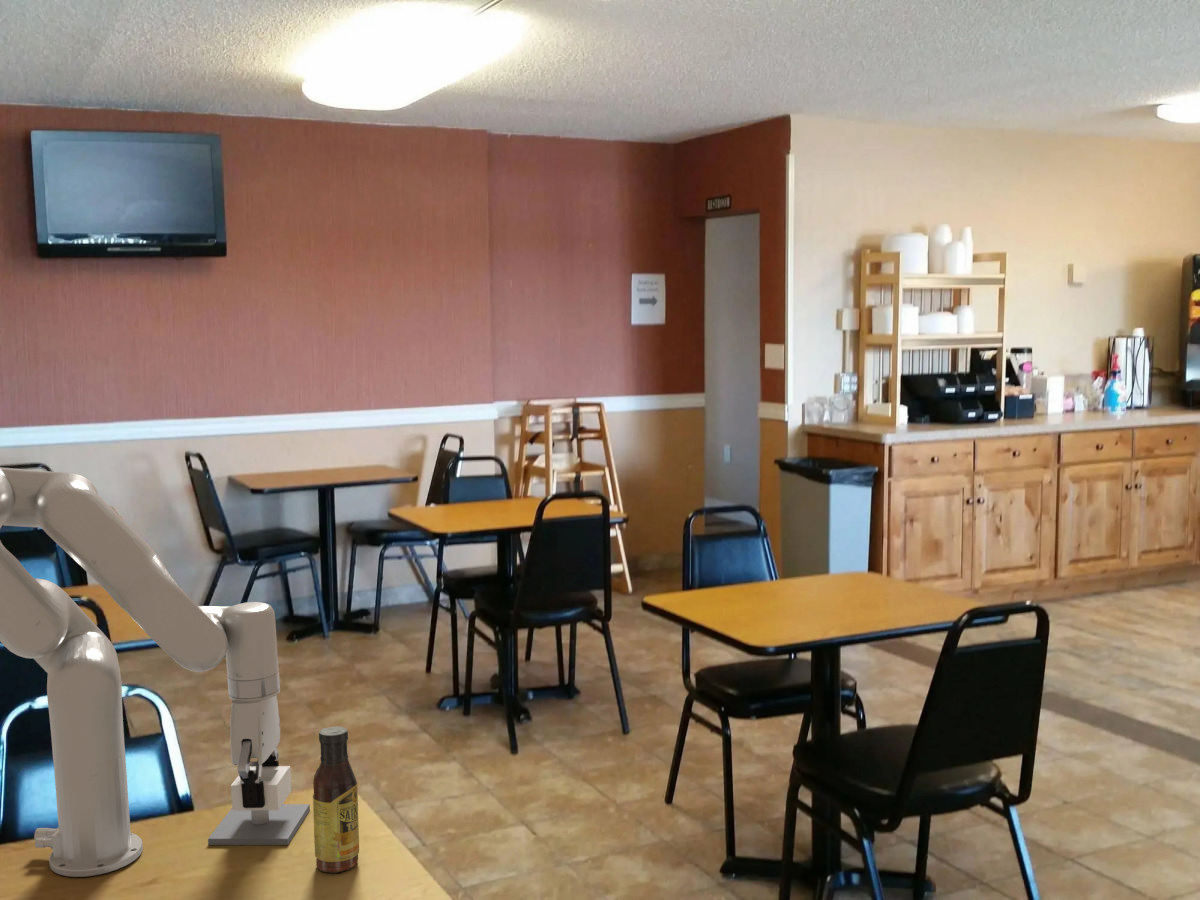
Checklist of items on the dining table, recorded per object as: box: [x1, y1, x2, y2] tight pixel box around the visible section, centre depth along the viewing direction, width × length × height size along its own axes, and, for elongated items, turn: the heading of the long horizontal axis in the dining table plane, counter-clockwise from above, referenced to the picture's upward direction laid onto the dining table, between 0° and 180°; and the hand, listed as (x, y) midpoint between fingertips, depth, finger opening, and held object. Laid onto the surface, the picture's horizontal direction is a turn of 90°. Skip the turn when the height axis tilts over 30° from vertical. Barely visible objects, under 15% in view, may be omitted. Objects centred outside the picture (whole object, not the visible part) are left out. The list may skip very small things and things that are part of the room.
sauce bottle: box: [312, 725, 360, 874], centre depth 169 cm, size 7×6×20 cm
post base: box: [207, 780, 311, 846], centre depth 182 cm, size 12×12×7 cm
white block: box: [230, 765, 293, 811], centre depth 182 cm, size 7×7×4 cm
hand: (261, 795), depth 182 cm, fingers closed on white block, 7 cm apart
